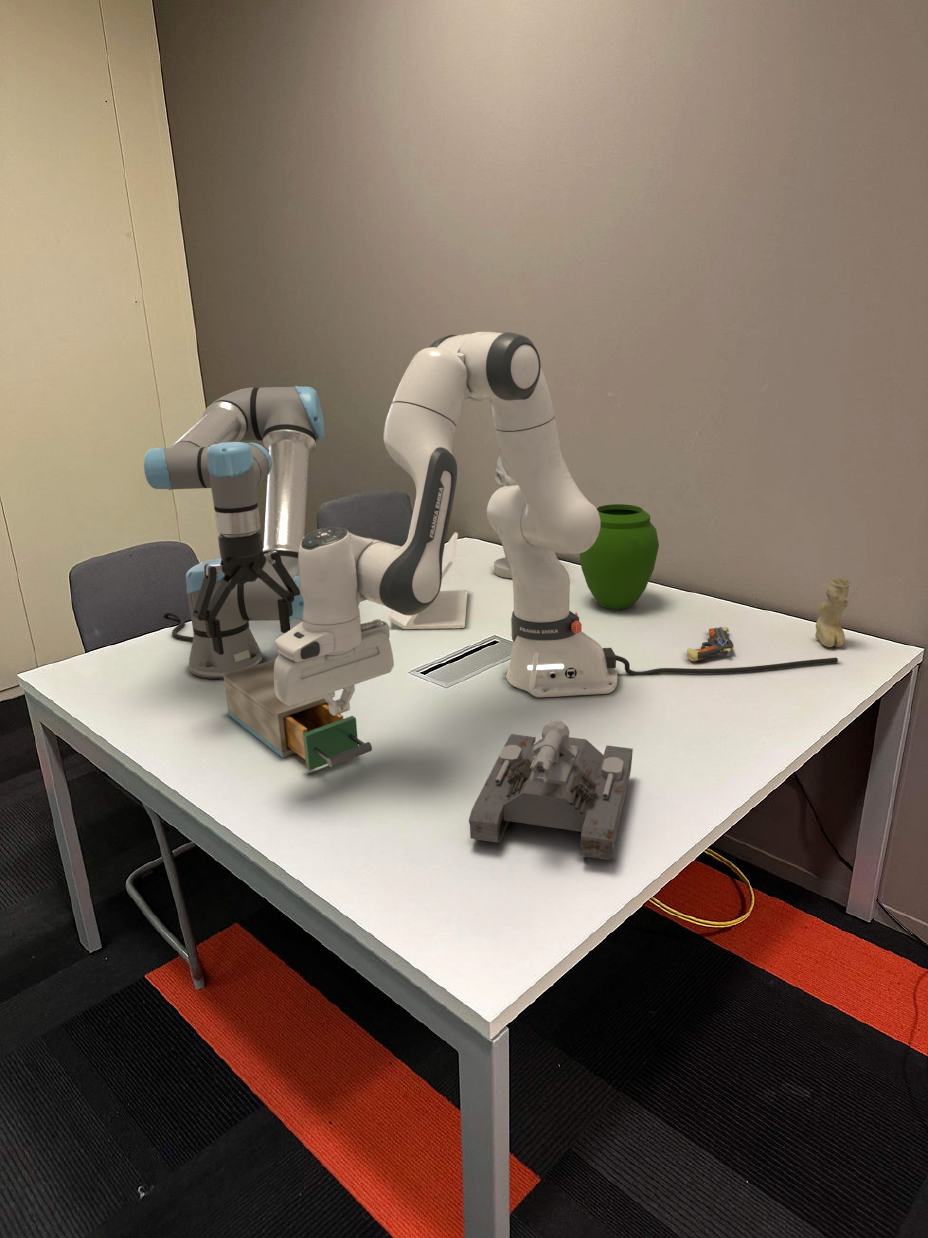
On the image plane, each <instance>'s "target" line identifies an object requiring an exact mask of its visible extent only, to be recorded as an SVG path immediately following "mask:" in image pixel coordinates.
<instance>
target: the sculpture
mask: <svg viewBox="0 0 928 1238" xmlns="http://www.w3.org/2000/svg"><path fill="white" fill-rule="evenodd" d="M826 581H827V586H826V588H825V590H824V593H825V595H826V596H827V598H826V600H824V601H822V602H821V603H820V604H819V605H818V606H817V609H816V610H817V612H818V614H819V616H818V617H817V619H816V623H815V630H816V631H815V634H814V635H815V639H817V640H819V642H820V643H821V644H822V645H823V646H825V647H827V648H832V647H834V646H835V647H843V646H844V645H845V643H846V642H845V641H846V636H845V632H844V630H843V626H842V624H841V622H840V621H841V617H842V615H843V612H844V610H845V609H846V608H847V606H848V604H849V603H848V602H849V601H847V598H848V597H849V592H850V586H851V585H852V582H850V580H848V579H847V578H845V577H841V576H840V577H835V578H831V577H827V578H826Z"/></svg>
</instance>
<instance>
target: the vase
mask: <svg viewBox="0 0 928 1238" xmlns="http://www.w3.org/2000/svg"><path fill="white" fill-rule="evenodd" d="M596 509H597V510H598V513H599V516H600V522H601V525H600V532H599V535H598V538H597V540H596V541H595V543H594V544H593V545H592V547H591V548H589V549H588V550H587V551H585V552H583V553H578V554H579V562H580V569H581V571H582V574H583V577H584V580H585V583H586V585H587V588H588V590H589V591H590V594H592V597H593V598H594V600H595V601H596V602H597V603H598V604H599V605H600V606H602V607H604V608H606V609H609V610H625V609H628V608H630V607H632V606H634V604H636V602H638V601H639V599H640V597H641V596H642V595H643V593H644V592H645V590H646V588H647V586H648V584H649V581H650V579H651V577H652V574H653V572H654V570H655V566H656V562H657V557H658V552H659V548H660V544H659V543H660V542H659V537H658V531H657V528H656V527H655V526H654V524H653V523H652V522H651V515H650V514H649V512H647V511H645V510H644V509H643V508H642V507H641V506H638V505H633V504H622V503H621V504H619V503H616V504H615V503H614V504H604V505H601V506H598V507H596Z"/></svg>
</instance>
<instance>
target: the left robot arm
mask: <svg viewBox="0 0 928 1238" xmlns="http://www.w3.org/2000/svg"><path fill="white" fill-rule="evenodd" d="M325 433H326V431H325V421H324V414H323V410H322V404H321V400H320V398H319V394H318V392H317V391H316V389H314V388H313V387H312V386H298V385H294V386H271V387H269V386H267V387H266V386H265V387H263V386H262V387H255V386H253V387H245V388H241V389H237V390H234V391H232V392H230V393H228V394H225V395H223V396H221V397H219V398H218V399H216V400H214V401H213V402H212V403H210V404H209V405H208V406H207V407H206V408H205V409H204V411H203V414H202V418H201V419H200V420H199V421H198V422H196V424H195V425H193V426H192V427H191V428H190V429H188V431H187V432H186V433H184V434H183V435H182V436H181V437H180V438H178V440H176V442H175V443H173V444H172V445H171V446H170V447H163V446H160V447H157V448H156V447H155V448H150V449H148V450H147V452H146V453H145V454H144V458H143V472H144V476H145V479H146V482H147V484H148V485H149V486H150V487H151V488H152V489H154V490H169V491H172V490H193V489H194V490H195V489H211V496H212V502H213V510H214V517H215V518H214V519H215V525H216V531H217V533H218V535H217V541H218V549H219V554H220V557H217V558H213V559H209V560H206V561H202V562H200V563H197V564H195V565H193V566H192V567H190V568H189V570H187V572H186V574H185V584H186V590H185V592H186V594H187V601H188V608H189V612H190V613H189V614H190V620H191V626H192V632H193V636H190V635H189V636H188V635H182V634H179V633H178V631H180V630H181V629H182V628H183V627H184V626H185V624H186V621H185V619H184V618H183V617H182V616H181V615H179V614H178V613H175V612H174V611H166V612H165V613H164V614H163V617H162V618H164V619H167V618H168V617H169V616H170V617H173V618H175V619H177V620H178V621H179V624H178V625H176V626H175V627H174V628H173V629H172V631H171V635H172V636H173V637H174V638H175V639H177V640H182V641H189V642H192V644H191V648H190V654H189V659H188V666H189V671H190V673H191V674H192V675H194V676H196V677H198V678H203V679H208V680H209V679H211V680H219V679H221V680H222V679H224V677H223V675H225V674H228V673H231V672H235V671H238V670H241V669H245V668H248V667H251V666H255V665H258V664H261V663H263V655H262V650H261V648H260V646H259V644H258V642H257V641H256V639H255V636H254V634H253V632H252V630H251V628H250V622H251V621H252V622H253V621H254V622H255V621H257V622H258V621H261V622H263V621H279V628H280V632H281V633H282V634H285V633H286V632H288V631H289V630H291V629H292V628H291V621H293V620H294V621H295V620H303V618H302V613H303V608H304V602H303V598H302V596H301V593H300V588H299V577H298V553H299V547H300V544H301V541H302V539H303V538H304V537H305V536H306V521H307V520H306V518H307V497H308V478H309V457H310V454H312V453H313V452H314V451H315V450H316V447H317V440H318V441H320V440H323V439H324V438H325ZM244 441H261V442H262V444H263V445H261V444H259V443H257V442H244ZM266 479H267V483H266V500H265V501H266V502H265V517H264V532H263V533H264V534H263V536H262V532H261V531H260V529H261V527H262V526H261V517H260V512H259V504H258V493H257V487H258V486H259V485H261V484H262V483H264V482H265V481H266Z"/></svg>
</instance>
